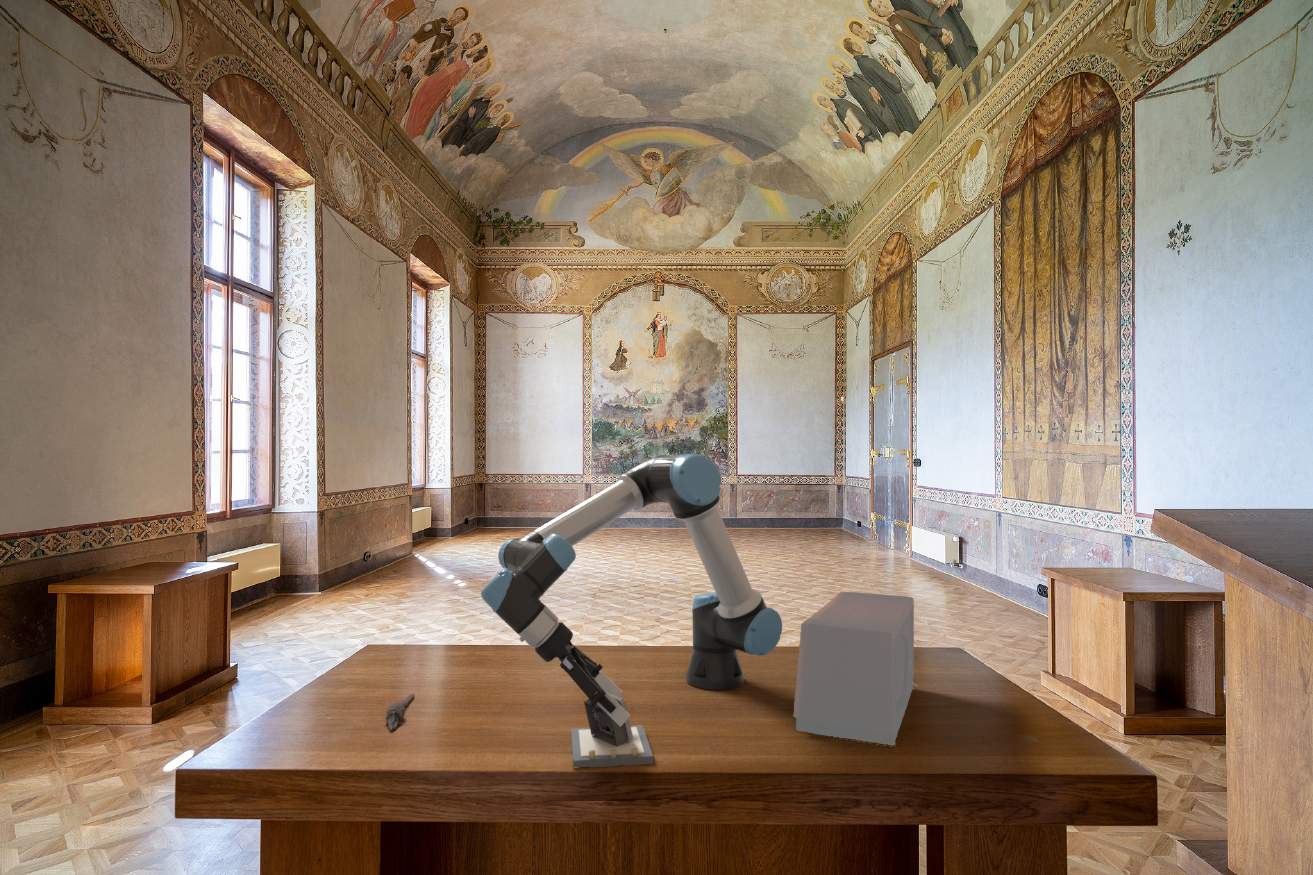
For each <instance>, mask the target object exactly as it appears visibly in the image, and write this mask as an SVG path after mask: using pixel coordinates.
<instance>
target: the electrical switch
mask: <svg viewBox="0 0 1313 875" xmlns="http://www.w3.org/2000/svg"><path fill="white" fill-rule="evenodd" d="M596 693H597V692H596ZM596 693H595V694H596ZM595 694H594V695H595ZM608 694H609V693H608ZM610 695H611V696H612V697H613V698H614V699H615V700H616V701H617V702H618V703H619V704H620V705H621V706H622V707H623V708H624V709H625V710H626V711H627V712H628V708H627V702H626V700H625V699H624V698H623V697H621V696H620V697H618V696H615V695H612V694H610ZM590 703H591V700H590V699H589V698H588V699H586V700H585V701H583V704H584V709H585V713H586V717H587V721H588V725H589V727H588V728H590V731H591V735H593V736H592V737H595V738H597V739H600V740H602V741H604V742H607V743H609V744H612V745H614V746H616V747H618V746H619V745H620V744H621V743H623V742H625V741H626V742H628V743H630V742H631V741H632V740H633V735H632V730H631V722H630V717H629V718H628V719H627V720H626V721H625V722H624V724H623V725H622V726H621V727H620V726H619V725H618V724H617V723H616V722H615V721H614V720H613V719H612V718H611V717H610V716H609V715H608V714H607V713H606V712H605V711H604V710H603V709H602V708H601V707H600V706H599V705H598V704H596V705H595V706H594V707H593V706H592V705H591V704H590ZM609 735H611V736H610V737H611V738H608V737H609ZM614 737H615V738H614ZM612 738H613V739H612Z"/></svg>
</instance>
